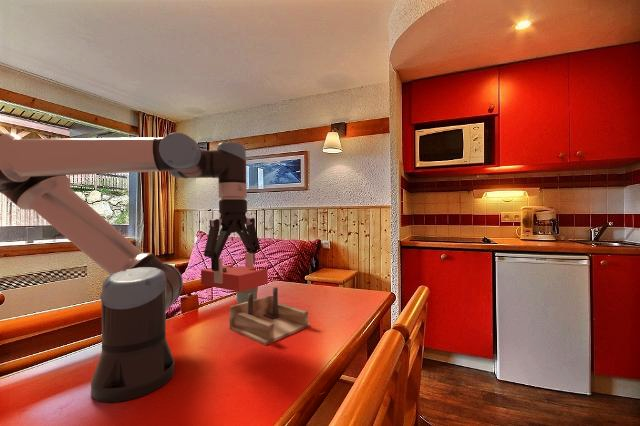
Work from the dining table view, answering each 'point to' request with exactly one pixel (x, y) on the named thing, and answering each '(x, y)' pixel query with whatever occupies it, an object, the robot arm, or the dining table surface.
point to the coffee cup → (246, 295)
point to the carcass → (267, 318)
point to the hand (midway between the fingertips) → (234, 278)
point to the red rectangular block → (236, 278)
